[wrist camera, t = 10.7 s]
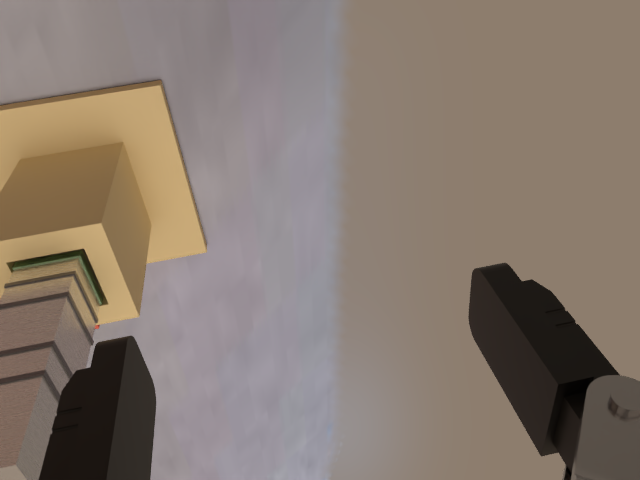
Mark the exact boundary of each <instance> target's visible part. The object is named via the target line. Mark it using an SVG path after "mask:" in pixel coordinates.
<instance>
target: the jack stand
mask: <svg viewBox="0 0 640 480" xmlns="http://www.w3.org/2000/svg"><path fill="white" fill-rule="evenodd" d="M78 249H84V250H85V252H86V254H87V256H88V259H89V261H90V263H91V265H92V268H93V270H94V272H95V274H96V277H97V279H98V281H99V283H100V286H101V288H102V290H103V294H102V297H103V302H102V304H100V308H99V312H98V316H97V317H98V323H96V325H95V329H98V328H99V325H100V324H105V323H110V322H115V321H120V320H125V319H130V318H135V317H139V315H140V308H141V300H142V293H143V285H144V278H145V270H146V264H147V263H152V262H157V261H163V260H168V259H173V258H179V257H184V256H189V255H195V254H200V253H205V252H207V244H206V240H205V237H204V233H203V230H202V226H201V222H200V219H199V215H198V212H197V208H196V204H195V201H194V197H193V193H192V190H191V186H190V183H189V179H188V175H187V172H186V168H185V165H184V161H183V157H182V154H181V150H180V146H179V143H178V139H177V136H176V132H175V128H174V125H173V121H172V118H171V114H170V110H169V107H168V103H167V100H166V96H165V92H164V89H163V85H162V81H161V80H158V81H152V82H145V83H139V84H133V85H127V86H120V87H114V88H108V89H101V90H95V91H89V92H82V93H76V94H70V95H63V96H57V97H51V98H45V99H38V100H32V101H26V102H19V103H13V104H7V105H0V299H1V297H2V295H3V292H4V290H5V288H4V285H5V284H6V283H8V281H9V279H10V277H11V275H12V273H13V266H14V263H15V262H18V260H24V259H29V258H35V257H40V256H46V255H51V254H57V253H62V252H68V251H73V250H78Z"/></svg>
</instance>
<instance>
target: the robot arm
mask: <svg viewBox="0 0 640 480" xmlns="http://www.w3.org/2000/svg"><path fill="white" fill-rule="evenodd" d="M469 324H470V329H471V332H472V335H473V338H474V340H475V342H476V343H477V345H478V347H479V349H480V350H481V352H482V354H483V356H484V357H485V359H486V361H487V363H488V364H489V366H490V368H491V370H492V371H493V373H494V375H495V377H496V378H497V380H498V382H499V384H500V385H501V387H502V389H503V391H504V392H505V394H506V396H507V398H508V399H509V401H510V403H511V405H512V406H513V408H514V410H515V412H516V413H517V415H518V417H519V419H520V420H521V422H522V424H523V425H524V427H525V429H526V431H527V433H528V434H529V436H530V438H531V440H532V441H533V443H534V445H535V447H536V448H537V450H538V452H539V454H540V455H541V456H545V455H549V454H554V453H558V452H559V454H560V456H561V457H562V459H563V461H564V462H565V464H566V465H565V469H564V472H563V479H562V480H640V381H638V380H635V379H633V378H629V377H626V376H620V375H619V374H618V372H617V371H616V370H615V369H614V368H613V367H612V365H611V364H610V363H609V361H608V360H607V359H606V358H605V357H604V355H603V354H602V353H601V352H600V350H599V349H598V348H597V347H596V346H595V345H594V343H593V342H592V341H591V339H590V338H589V337H588V336H587V335H586V333H585V332H584V331H583V330H582V328H581V327H580V326H579V325H578V324H576V323H575V320H574V319H573V317H572V316H571V315H570V314H569V313H568V311H565V308H564V307H563V305H562V304H561V303H560V302H559V300H558V299H557V298H556V296H555V295H554V294H553V293H552V292H551V291H550V290H548V289H546V288H545V287H543V286H542V285H540V284H538V283H537V282H535V281H534V280H527V281H521V280H520V279H519V277H518V276H517V275H516V273H515V272H514V271H513V269H512V268H511V267H510V266H509V265H508V264H507V263H502V264H496V265H491V266H486V267H481V268H476V269H474V270H473V272H472V280H471V292H470V303H469ZM56 413H57V416H55V419H54V423H53V426H52V434H50V438H49V442H48V446H47V449H46V453H45V457H44V461H43V465H42V469H41V472H40V476H39V480H150V475H151V462H152V450H153V438H154V425H155V413H156V395H155V388H154V384H153V380H152V378H151V375H150V373H149V371H148V368H147V366H146V364H145V361H144V359H143V357H142V354H141V352H140V350H139V347H138V345H137V342H136V340H135V339H134V337H133V336H127V337H122V338H117V339H112V340H107V341H102V342H98V343H97V344H96V346H95V349H94V354H93V358H92V363H91V367H90V368H85V369H81V370H76V371H75V373H74V374H73V376H72V377H71V379H70V380H69V381H68V383H67V384H66V386H65V387H64V388H63V390H62V392H61V396H60V400H59V404H58V407H57V411H56Z"/></svg>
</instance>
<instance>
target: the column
mask: <svg viewBox="0 0 640 480" xmlns="http://www.w3.org/2000/svg"><path fill="white" fill-rule="evenodd" d="M4 288H5V290H4V292H3V295H2V297H1V299H0V480H39V476H40V472H41V469H42V465H43V461H44V457H45V453H46V449H47V446H48V442H49V438H50V434H52V426H53V423H54V419H55V416H57V413H56V411H57V407H58V404H59V400H60V396H61V392H62V390H63V388H64V387H65V386H66V384H67V383H68V381H69V380H70V379H71V377H72V376H73V374H74V373H75V371H76V370H81V369H85V368H86V365H87V361H88V356H89V352H90V347H91V345H93V343H94V341H93V334H94V330H95V325H96V323H98V317H97V316H98V312H99V308H100V304H102V302H103V297H102V294H103V290H102V288H101V286H100V283H99V281H98V279H97V277H96V274H95V272H94V270H93V268H92V265H91V263H90V261H89V259H88V256H87V254H86V252H85V250H84V249H78V250H73V251H68V252H62V253H57V254H51V255H46V256H40V257H35V258H29V259H24V260H18V262H15V263H14V266H13V273H12V275H11V277H10V279H9V281H8V283H6V284H5V285H4Z"/></svg>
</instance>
